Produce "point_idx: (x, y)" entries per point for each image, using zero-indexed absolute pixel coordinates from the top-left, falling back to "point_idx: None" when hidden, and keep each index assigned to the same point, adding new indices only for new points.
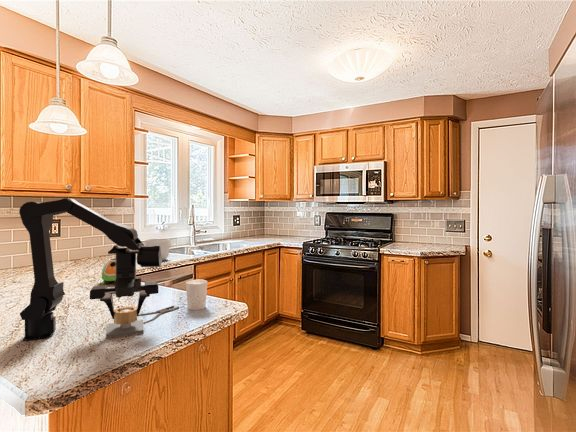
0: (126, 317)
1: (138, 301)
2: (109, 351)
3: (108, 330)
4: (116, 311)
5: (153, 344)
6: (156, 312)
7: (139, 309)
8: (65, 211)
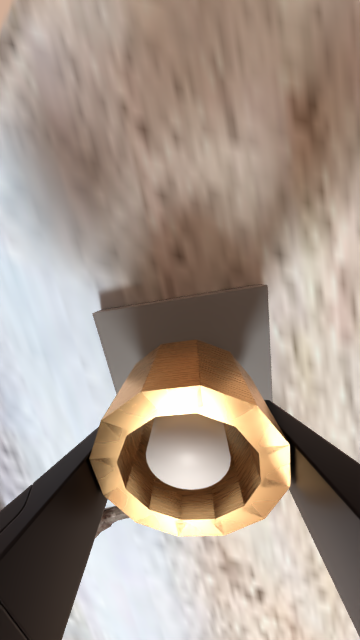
0: (166, 363)
1: (22, 580)
2: (212, 73)
3: (263, 350)
4: (264, 441)
5: (6, 136)
6: (109, 513)
7: (74, 453)
8: None
